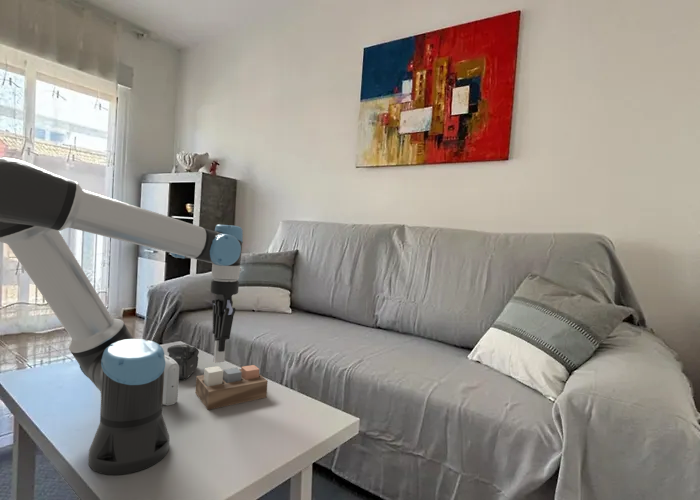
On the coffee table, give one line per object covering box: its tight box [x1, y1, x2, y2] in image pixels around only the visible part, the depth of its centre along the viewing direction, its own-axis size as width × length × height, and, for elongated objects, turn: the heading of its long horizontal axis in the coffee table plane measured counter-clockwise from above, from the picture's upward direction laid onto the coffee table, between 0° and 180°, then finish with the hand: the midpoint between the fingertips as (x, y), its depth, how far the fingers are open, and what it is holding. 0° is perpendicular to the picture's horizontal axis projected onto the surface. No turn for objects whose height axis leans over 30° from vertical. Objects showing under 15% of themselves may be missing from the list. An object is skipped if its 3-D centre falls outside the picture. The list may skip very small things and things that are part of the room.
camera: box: [166, 343, 200, 380], centre depth 129 cm, size 13×10×10 cm
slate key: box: [222, 367, 242, 383], centre depth 116 cm, size 4×4×5 cm
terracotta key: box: [240, 364, 260, 380], centre depth 120 cm, size 4×4×5 cm
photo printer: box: [162, 354, 180, 406], centre depth 111 cm, size 10×4×12 cm, turn 56°
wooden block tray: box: [195, 368, 268, 411], centre depth 117 cm, size 12×17×5 cm
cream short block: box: [203, 365, 224, 387], centre depth 113 cm, size 4×4×5 cm
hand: (218, 361), depth 113 cm, fingers closed
